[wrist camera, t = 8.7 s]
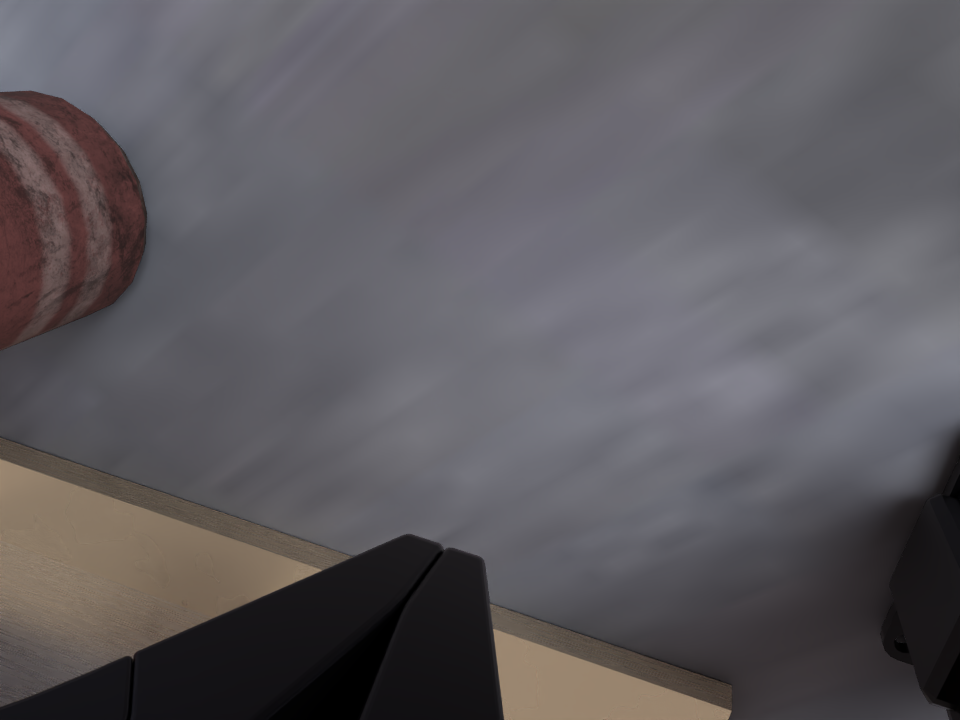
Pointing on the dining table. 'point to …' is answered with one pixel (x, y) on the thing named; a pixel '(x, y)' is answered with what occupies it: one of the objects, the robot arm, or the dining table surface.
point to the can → (62, 216)
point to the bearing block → (244, 597)
